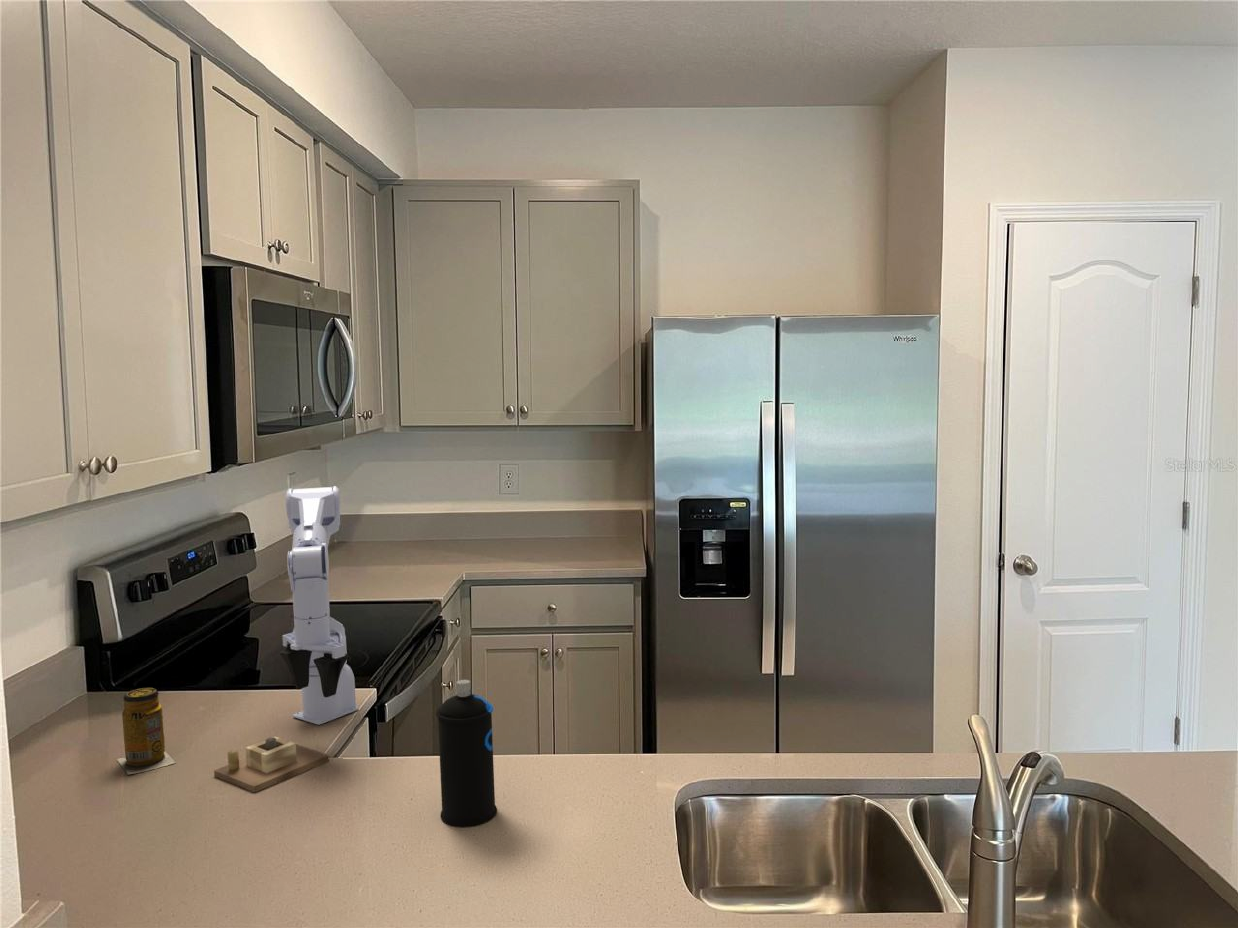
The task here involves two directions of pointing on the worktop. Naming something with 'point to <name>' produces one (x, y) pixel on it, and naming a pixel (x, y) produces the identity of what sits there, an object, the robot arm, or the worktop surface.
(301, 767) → the post board
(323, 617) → the robot arm
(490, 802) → the aerosol can
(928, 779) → the worktop surface
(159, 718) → the condiment
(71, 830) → the worktop surface
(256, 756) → the ring
